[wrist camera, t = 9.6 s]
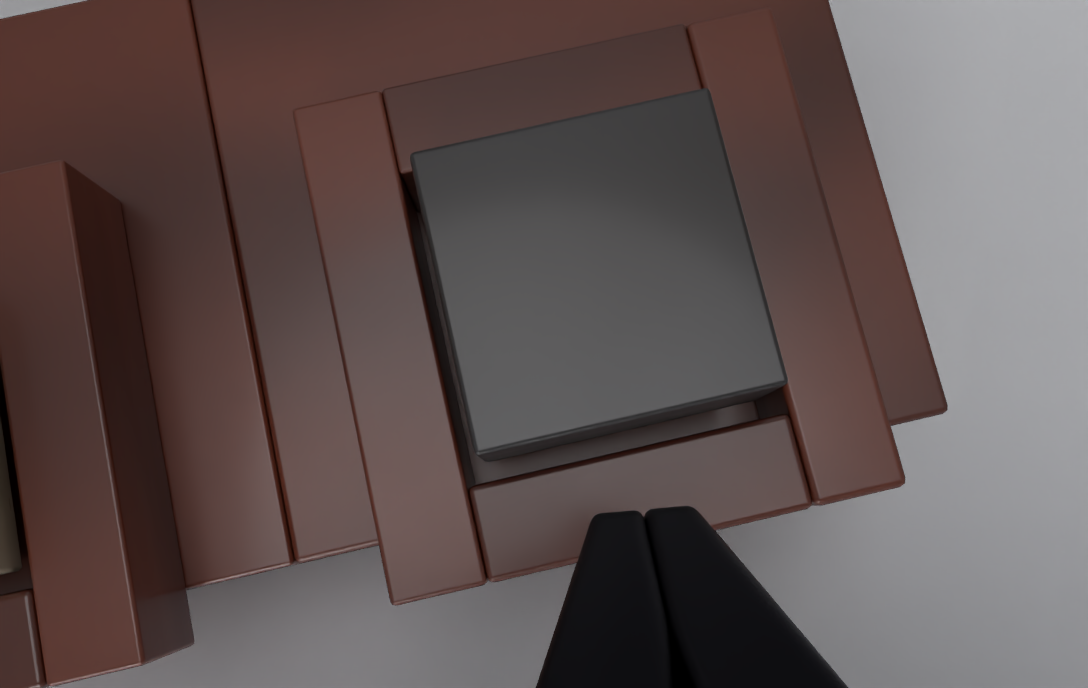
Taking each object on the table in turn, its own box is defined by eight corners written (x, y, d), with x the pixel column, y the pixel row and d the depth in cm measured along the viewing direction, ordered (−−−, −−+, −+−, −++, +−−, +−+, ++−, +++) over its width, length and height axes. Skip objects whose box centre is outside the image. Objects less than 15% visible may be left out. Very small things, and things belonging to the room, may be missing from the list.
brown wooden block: (859, 474, 19) (1027, 457, 12) (368, 588, 19) (268, 636, 12) (729, 6, 21) (816, -236, 14) (272, 106, 20) (136, -92, 14)
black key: (758, 400, 13) (790, 383, 11) (484, 463, 13) (473, 456, 11) (688, 138, 13) (710, 84, 12) (426, 197, 13) (408, 151, 12)
